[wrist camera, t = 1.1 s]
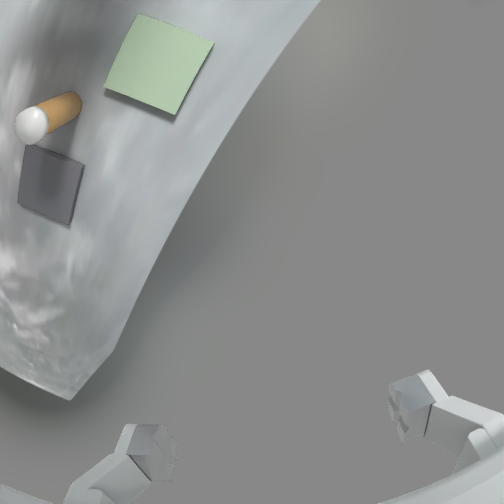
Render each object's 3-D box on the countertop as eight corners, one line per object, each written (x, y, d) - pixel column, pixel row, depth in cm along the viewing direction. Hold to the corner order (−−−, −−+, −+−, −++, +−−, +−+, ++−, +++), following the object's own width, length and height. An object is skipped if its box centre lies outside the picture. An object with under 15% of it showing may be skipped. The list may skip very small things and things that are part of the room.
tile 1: (20, 199, 50) (17, 202, 49) (29, 143, 44) (25, 145, 43) (70, 221, 55) (68, 225, 54) (84, 165, 49) (81, 168, 47)
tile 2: (106, 85, 41) (103, 86, 40) (140, 14, 34) (137, 13, 33) (176, 113, 45) (174, 115, 44) (214, 43, 39) (214, 42, 38)
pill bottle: (53, 115, 42) (12, 138, 31) (62, 87, 40) (19, 104, 29) (77, 123, 44) (38, 149, 33) (86, 96, 41) (47, 114, 31)
